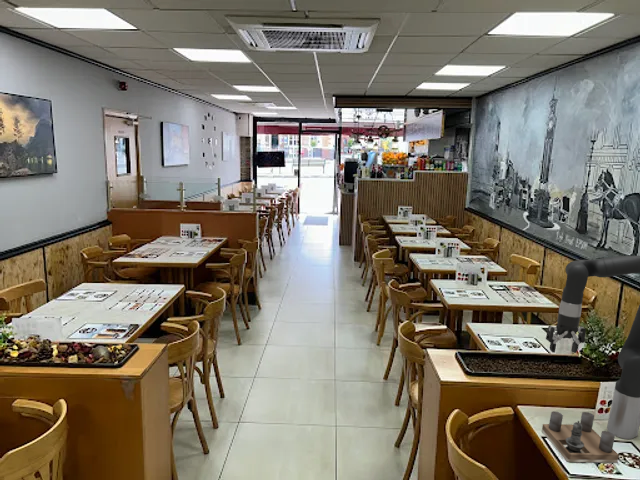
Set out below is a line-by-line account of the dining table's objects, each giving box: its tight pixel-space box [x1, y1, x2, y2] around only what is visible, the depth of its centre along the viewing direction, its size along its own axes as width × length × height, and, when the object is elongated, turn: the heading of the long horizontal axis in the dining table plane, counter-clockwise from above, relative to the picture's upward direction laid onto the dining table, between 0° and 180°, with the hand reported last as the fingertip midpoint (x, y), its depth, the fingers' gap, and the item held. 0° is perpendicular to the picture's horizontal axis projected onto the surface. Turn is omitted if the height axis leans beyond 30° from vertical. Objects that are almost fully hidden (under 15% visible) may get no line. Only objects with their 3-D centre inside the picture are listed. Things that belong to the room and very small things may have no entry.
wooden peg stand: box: [541, 410, 620, 464], centre depth 177 cm, size 18×18×9 cm
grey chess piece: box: [565, 420, 584, 453], centre depth 172 cm, size 6×6×12 cm
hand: (563, 352), depth 191 cm, fingers open, 8 cm apart
